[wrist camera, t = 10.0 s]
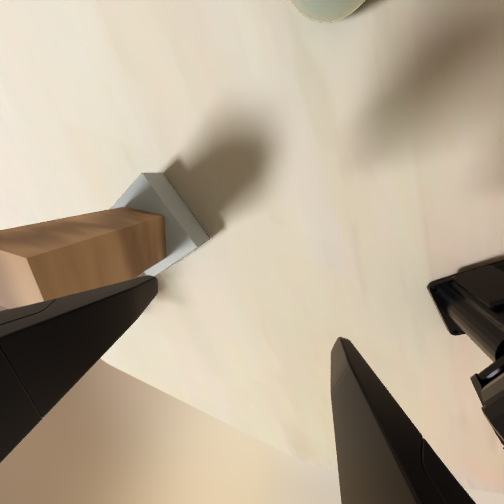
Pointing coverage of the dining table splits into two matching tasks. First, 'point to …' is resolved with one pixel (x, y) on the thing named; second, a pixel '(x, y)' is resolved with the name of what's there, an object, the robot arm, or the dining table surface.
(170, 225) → the pedestal
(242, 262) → the dining table surface
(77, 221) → the wooden block
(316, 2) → the cup
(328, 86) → the dining table surface
